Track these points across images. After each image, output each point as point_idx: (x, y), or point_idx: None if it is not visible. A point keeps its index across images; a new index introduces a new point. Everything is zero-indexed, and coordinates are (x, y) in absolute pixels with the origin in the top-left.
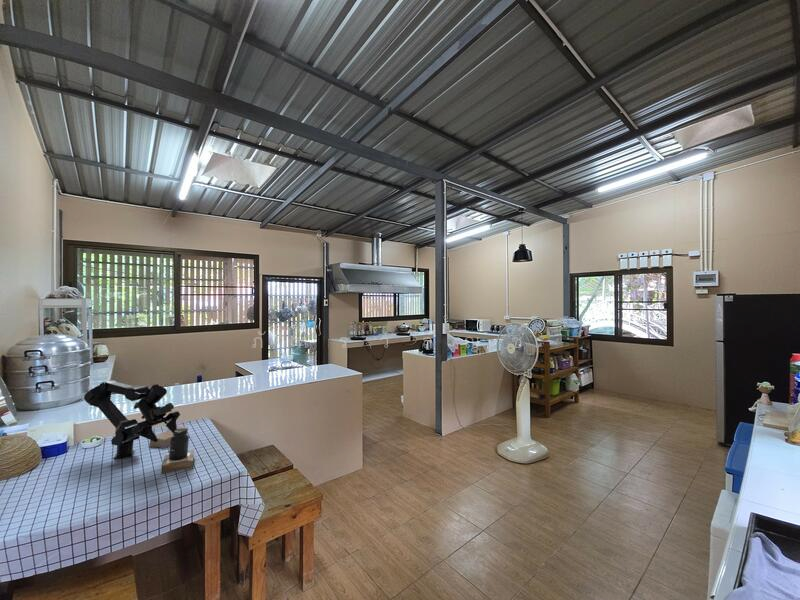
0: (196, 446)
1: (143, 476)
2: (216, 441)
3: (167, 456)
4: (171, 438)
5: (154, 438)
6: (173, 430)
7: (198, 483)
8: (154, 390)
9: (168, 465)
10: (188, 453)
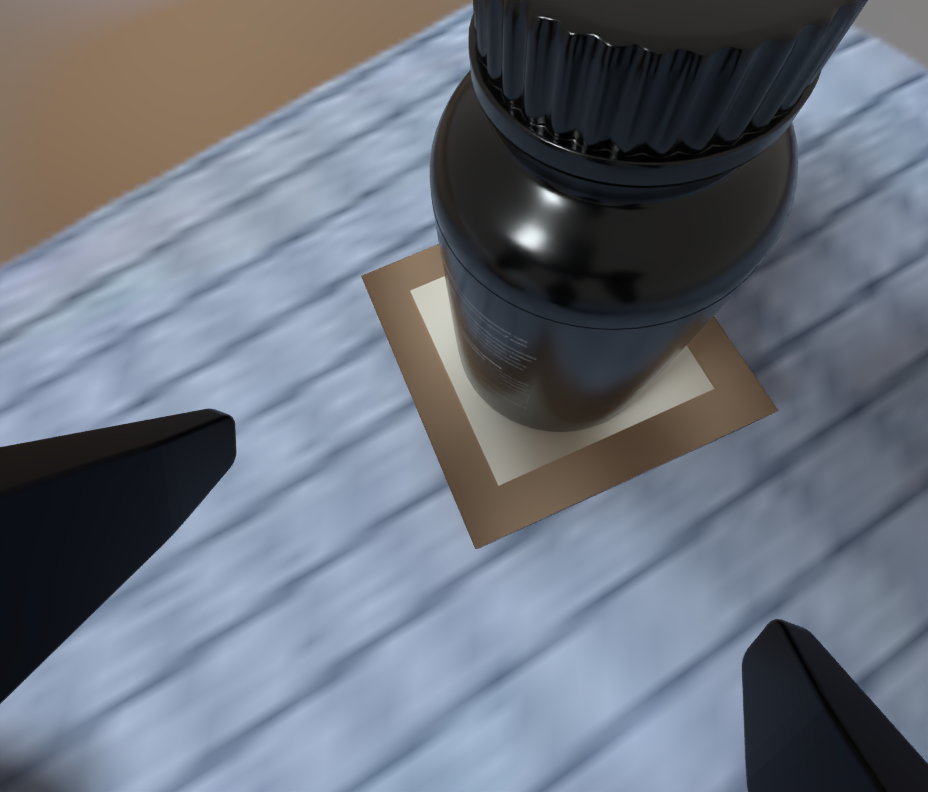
0: (93, 418)
1: (827, 574)
2: (9, 284)
3: (513, 492)
4: (733, 250)
5: (891, 749)
6: (129, 511)
7: (857, 62)
8: None
9: (732, 355)
10: (439, 293)
